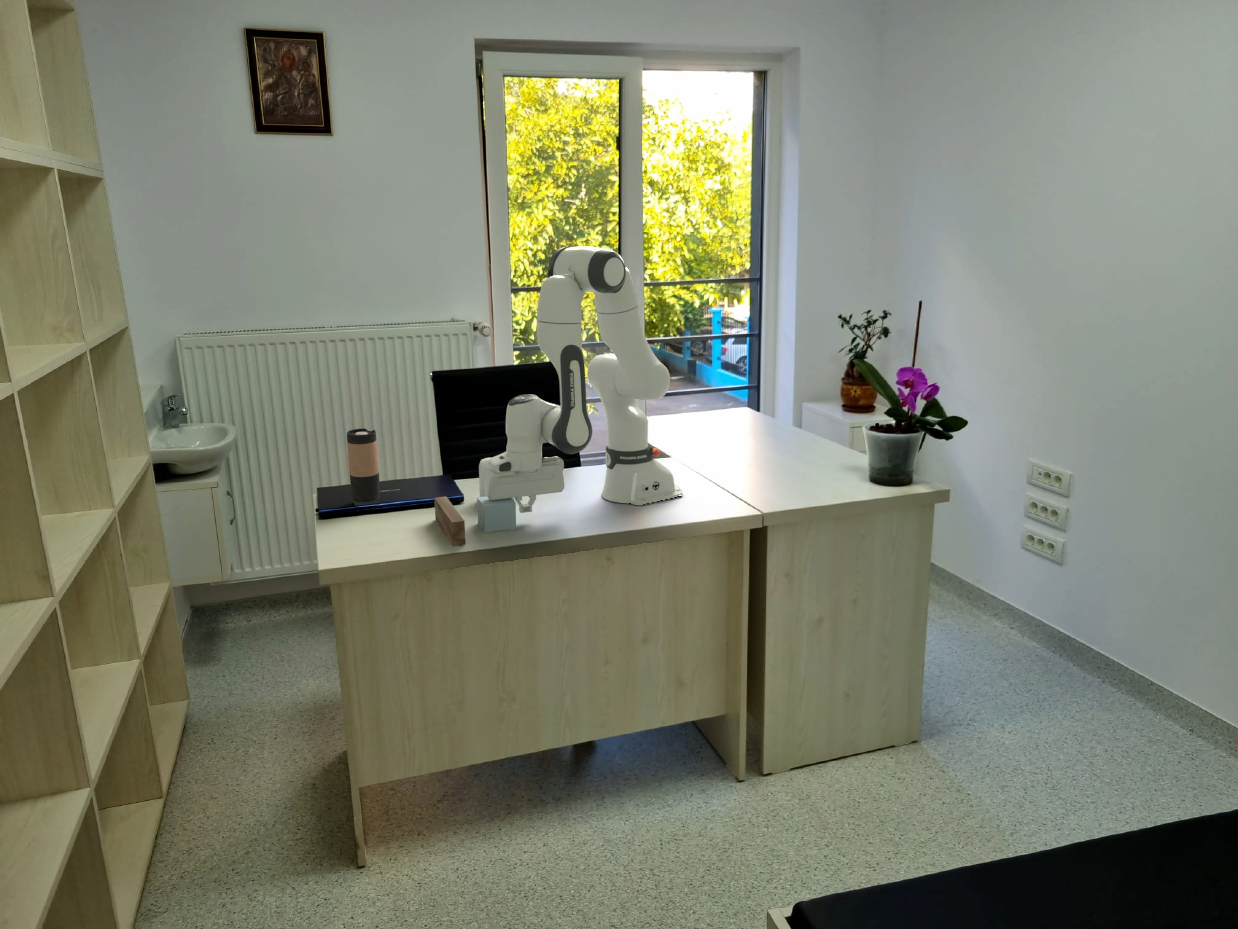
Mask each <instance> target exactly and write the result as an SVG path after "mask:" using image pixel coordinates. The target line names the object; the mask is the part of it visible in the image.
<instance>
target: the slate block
mask: <svg viewBox="0 0 1238 929" xmlns="http://www.w3.org/2000/svg"><path fill="white" fill-rule="evenodd" d="M476 504H477V505H476V506H477V509H476V510H477V524H478V525H479V526H480V528H481V529H482V530H483V531H484V533H491V532H498V531H497V530H499V531H505V530H513V529H517V508H516V506H517V505H516V504H517V502H516V500H515V499H514V500H513V499H512V498H507V499H498V500H490V499H489V498H488V497H487V496H486V497H480V496H479V497H477V498H476Z"/></svg>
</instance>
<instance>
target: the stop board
mask: <svg viewBox="0 0 1238 929" xmlns="http://www.w3.org/2000/svg"><path fill="white" fill-rule="evenodd" d="M433 501H434V515H435V518H434V519H435V521H436V523H437V524H438V525H439V527H440V529H441V530H442V532H443V533H444V535H445V536H446V537H447V539H448V541H449V542H450V544H451V545H452V547H457V546H463V545H466V544H467V542H466V527H465V526H466V524H465V519H464V518H463V517H462V515H461V514H460V513H459V512H458V510H457V509H456V508H455V506H454V505H453V503H452V502H451V501H450V499H449V498H448V497H447V496H438V497H434V500H433Z"/></svg>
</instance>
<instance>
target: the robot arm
mask: <svg viewBox="0 0 1238 929" xmlns="http://www.w3.org/2000/svg"><path fill="white" fill-rule="evenodd" d="M540 287H541V288H540V291H539V295H538V303H537V313H536V337H537V343H538V347H539V349H540V351H541V352H542V353H543V354H544V355H545V356H546V358H547V359H548V360H549V361H550V362H551V363H552V366H553V367H554V368H555V370H556V373H557V375H558V382H559V401H560V402H559V403H560V405H559V404H555V403H552V402H551V403H550V402H548V401H545V400H543V399H541V398H540V397H539V396H537V395H536V394H532V393H531V394H519V395H517V396H514V397H513V398H512V399H510V400H509V402H508V403H507V407H506V414H505V434H506V437H507V442H506V443H507V444H506V448H505V450H506V451H504V452H502V453H500V454H497V455H495V456H493V457H489V458H490V459H489V460H488V465H489V467H490V469H489V470H488V471H487V473H486V478H485V495H486V496H487V497H488V498H489V499H490V500H498V499H507V498H514V501H515V502H516V504H517V505H518V509H519V513H520V514H525V513H532V512H533V505H534V503H535V502H536V500H537V496H539V495H549V494H555V493H556V494H557V493H562V492H563V490H564V489H565V478H564V473H563V471H564V469H565V463H564V460H563V459H562V458H561V457H559V456H556V455H555V456H551V457H547V456H546V457H543V444H546V443H549V444H551V445H552V446H554V447H556V448H557V449H558V450H560V451H561V452H562V453H564V454H567V455H574V454H577V453H580V452H581V451H582V452H583V450H585V449H586V447H587V446H589V443H590V442H591V440H592V436H593V426H592V423H591V420H590V418H589V417H590V416H589V412H588V409H587V408H588V407H587V391H586V390H587V387H586V384H587V382H586V375H587V381H588V383H589V384H590V385H591V386H592V387H593V389H594V390H595V392H596V393H597V395H598V397H599V400H600V401H601V403H602V406H603V410H604V414H605V418H606V428H607V431H606V432H607V433H606V434H607V438H606V439H607V445H606V446H605V465H606V472H605V477H604V478H605V479H604V485H603V489H602V492H601V497H602V498H603V499H605V500H607V501H609V502H614V503H620V504H629V503H631V504H630V505H635V506H643V504H645V505H647V504H646V503H649V504H653V503H652V502H654V503H658V502H657V501H659V502H661V501H660V500H663V501H666V500H665V499H668V500H671V499H670V498H673V497H677V496H679V495H682V496H683V491H682V488H681V487H679V486H678V485H676V483H675V480H674V475H673V473H672V472H671V470H670V469H668V467H666V466H665V465H664V464H662V463H661V462H659V461H658V460H657V459H656V458H655V457H659V456H660V455H661V453H662V452H661V450H660V449H658V448H657V447H653V446H651V445H649V441H648V440H649V420H648V417H647V416H646V414H645V412H643V411H642V410H641V409H640V406H639V405H638V403H637V401H636V400H639V401H656V400H661V399H662V398H663V397H664V396H665V395H666V394H667V392H668V390H669V388H670V385H671V374H670V372H669V369H668V368H667V367H666V365H664V364H663V363H662V362H661V361H660V360H659V359H658V357H657V356H656V355H655V353H654V351H653V350H652V348H651V347H650V344H649V342H648V340H647V338H646V335H645V333H644V329H643V325H642V319H641V312H640V306H639V300H638V295H637V291H636V286H635V283H634V280H633V277H632V274H631V271H630V270H629V268H628V267H626V263H625V261H624V259H623V257H622V256H621V255H620V254H619V253H618V252H616V251H614V250H612V249H609V248H601V247H595V246H589V245H586V246H572V245H571V246H564V247H559V248H558V249H556V250H555V251H554V252H553V253H552V254H551V257H550V258H549V261H548V266H547V278H545V279H544V281H543V282H542V284H541V286H540ZM588 292H589V293H590V292H591V293H592V294H593V295H594V304H595V309H596V317H597V323H598V329H599V335H600V339H601V340H602V342H603V343H604V344H605V345H606V346H607V347H608V348H609V349H610V350H611V351H612V353H604V354H597V355H596V356H594V357H593V358H592V359H591V361H590V362H589V364H588V367H587V374H586V369H585V368H586V367H585V359H584V354H583V352H584V351H583V345H582V340H583V339H582V323H583V320H582V319H583V314H582V313H583V312H582V309H583V308H582V303H583V298H584V297H585V295H586V293H588ZM523 497H528V499H529V500H528V501H527V503H525V504H523V503H522V502H521V501H523ZM677 498H678V497H677ZM673 499H674V498H673Z"/></svg>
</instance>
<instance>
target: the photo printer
mask: <svg viewBox="0 0 1238 929" xmlns="http://www.w3.org/2000/svg"><path fill="white" fill-rule="evenodd" d="M490 458H491V457H485V458H483V459H480V462H479V465H478V474H479V475H478V478H479V481H478V482H479V497H486V495H485V478H486V473H487V471H488V470H489V469H490V467H489V465H488V460H489V459H490ZM512 499H513V500H514V501H515V498H512Z"/></svg>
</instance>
